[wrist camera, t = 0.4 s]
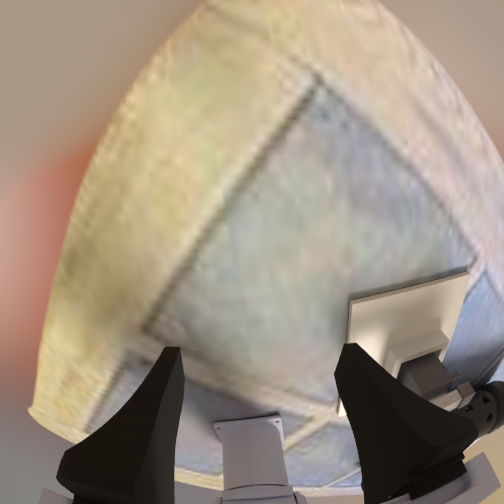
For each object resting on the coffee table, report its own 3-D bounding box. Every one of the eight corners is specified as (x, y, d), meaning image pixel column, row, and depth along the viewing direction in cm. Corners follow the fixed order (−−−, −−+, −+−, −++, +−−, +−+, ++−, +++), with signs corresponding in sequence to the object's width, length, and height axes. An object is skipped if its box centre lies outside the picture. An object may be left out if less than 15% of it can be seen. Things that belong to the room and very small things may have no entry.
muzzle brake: (389, 396, 31) (418, 458, 22) (500, 365, 34) (527, 400, 25) (363, 433, 35) (382, 487, 26) (475, 399, 38) (497, 434, 29)
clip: (437, 357, 27) (468, 403, 20) (350, 386, 27) (373, 445, 20) (442, 345, 26) (475, 392, 19) (352, 374, 26) (378, 435, 19)
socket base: (429, 383, 31) (437, 396, 29) (336, 413, 31) (342, 429, 29) (467, 271, 23) (482, 283, 21) (349, 300, 23) (361, 318, 21)
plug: (435, 360, 28) (458, 394, 23) (390, 376, 28) (411, 415, 22) (444, 336, 26) (471, 371, 21) (397, 353, 26) (422, 393, 21)
